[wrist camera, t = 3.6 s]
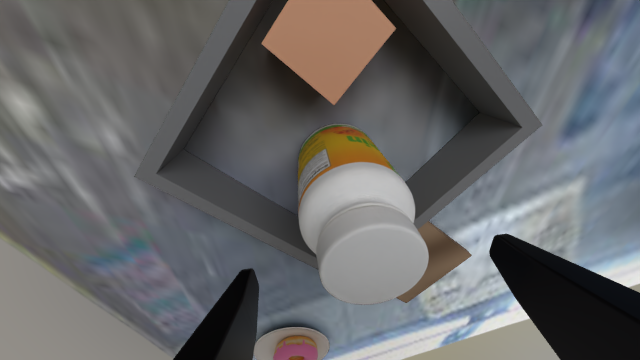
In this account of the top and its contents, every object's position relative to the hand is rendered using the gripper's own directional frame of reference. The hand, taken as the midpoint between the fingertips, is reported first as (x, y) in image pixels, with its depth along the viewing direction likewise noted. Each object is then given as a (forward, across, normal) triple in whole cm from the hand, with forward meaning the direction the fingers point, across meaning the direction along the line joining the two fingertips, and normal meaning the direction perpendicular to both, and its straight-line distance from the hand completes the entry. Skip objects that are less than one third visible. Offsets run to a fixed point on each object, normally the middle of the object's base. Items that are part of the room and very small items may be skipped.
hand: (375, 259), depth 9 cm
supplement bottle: (+10, 0, 0) cm, 10 cm away
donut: (+10, +7, +20) cm, 24 cm away
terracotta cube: (+9, 0, -7) cm, 12 cm away
